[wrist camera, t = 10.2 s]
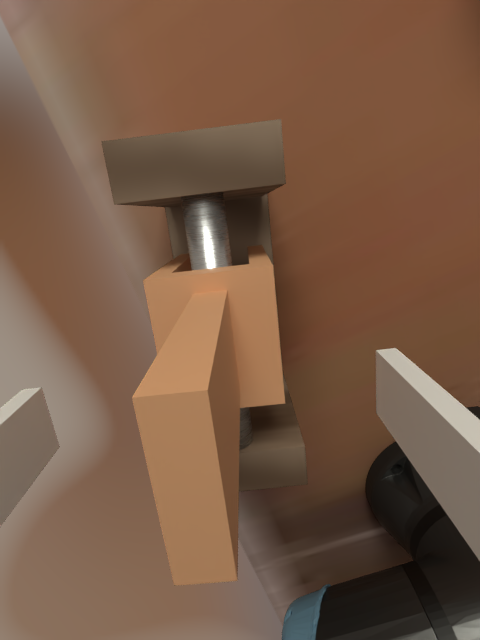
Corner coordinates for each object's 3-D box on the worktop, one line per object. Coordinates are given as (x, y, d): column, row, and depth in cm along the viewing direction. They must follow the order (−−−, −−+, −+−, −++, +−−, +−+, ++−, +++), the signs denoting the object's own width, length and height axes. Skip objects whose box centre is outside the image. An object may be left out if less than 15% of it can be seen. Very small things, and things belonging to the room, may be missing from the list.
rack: (281, 368, 42) (315, 483, 24) (195, 377, 42) (167, 498, 24) (263, 164, 36) (291, 117, 18) (162, 176, 36) (91, 142, 18)
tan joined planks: (270, 336, 32) (327, 600, 10) (194, 344, 32) (95, 617, 11) (261, 244, 30) (312, 338, 8) (180, 254, 30) (17, 369, 8)
